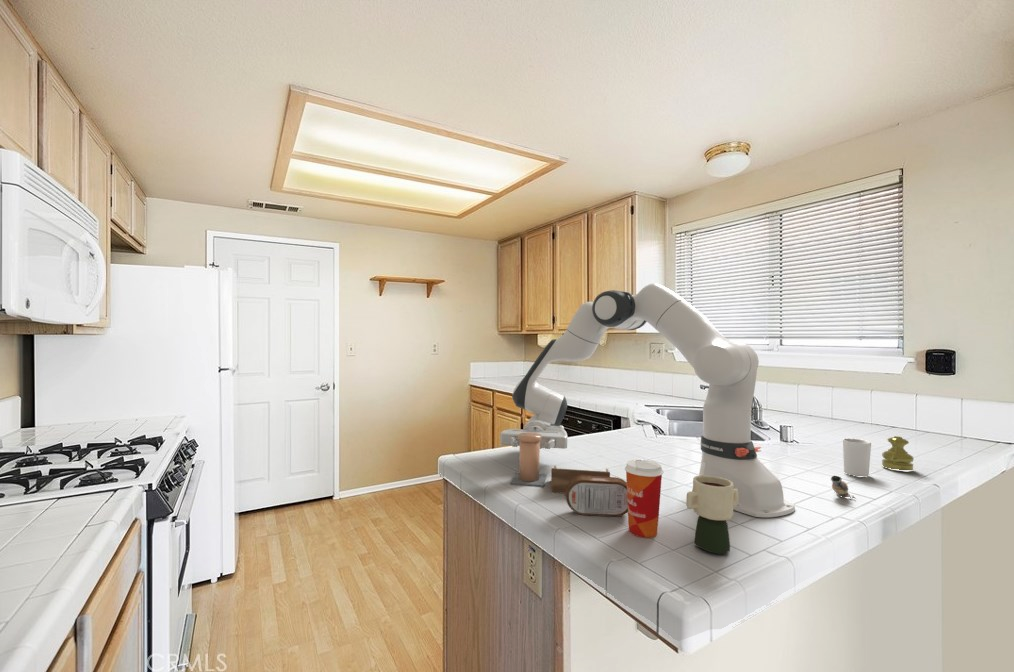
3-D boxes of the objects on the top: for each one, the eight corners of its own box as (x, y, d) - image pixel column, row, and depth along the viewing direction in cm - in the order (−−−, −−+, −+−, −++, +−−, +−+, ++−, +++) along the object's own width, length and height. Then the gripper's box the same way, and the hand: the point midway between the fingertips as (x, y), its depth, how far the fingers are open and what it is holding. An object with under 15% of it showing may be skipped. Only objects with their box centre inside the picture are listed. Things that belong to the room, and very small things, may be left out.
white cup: (874, 479, 129) (875, 444, 129) (847, 476, 132) (847, 442, 131) (864, 472, 136) (865, 439, 136) (838, 470, 138) (839, 437, 138)
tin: (631, 513, 103) (632, 476, 103) (634, 519, 100) (634, 481, 100) (564, 510, 104) (565, 473, 104) (565, 515, 101) (565, 478, 101)
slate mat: (515, 473, 130) (515, 472, 130) (546, 476, 129) (546, 474, 129) (510, 484, 121) (510, 482, 121) (543, 486, 120) (543, 485, 120)
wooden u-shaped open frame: (553, 479, 125) (554, 458, 125) (607, 483, 123) (608, 461, 123) (551, 492, 116) (551, 468, 116) (609, 496, 113) (610, 472, 113)
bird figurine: (841, 503, 111) (841, 479, 111) (821, 495, 116) (822, 473, 116) (857, 501, 112) (858, 478, 112) (837, 494, 117) (837, 471, 117)
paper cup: (618, 524, 97) (619, 458, 97) (653, 523, 98) (654, 458, 97) (631, 541, 89) (632, 470, 89) (669, 540, 90) (670, 469, 90)
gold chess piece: (910, 468, 141) (911, 436, 141) (916, 474, 134) (916, 440, 134) (880, 464, 145) (880, 433, 144) (883, 470, 138) (884, 437, 138)
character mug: (724, 538, 91) (725, 473, 91) (750, 555, 84) (751, 485, 84) (675, 542, 89) (676, 476, 89) (697, 560, 82) (699, 488, 82)
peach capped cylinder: (545, 480, 123) (545, 436, 123) (524, 483, 121) (524, 438, 121) (533, 473, 129) (534, 431, 129) (513, 476, 127) (514, 433, 126)
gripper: (503, 422, 145) (495, 432, 131) (568, 425, 141) (566, 436, 128) (503, 442, 145) (495, 453, 131) (568, 446, 141) (566, 458, 128)
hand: (531, 445), depth 129 cm, fingers open, 8 cm apart
